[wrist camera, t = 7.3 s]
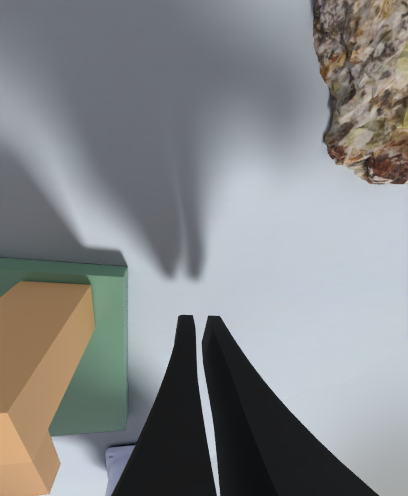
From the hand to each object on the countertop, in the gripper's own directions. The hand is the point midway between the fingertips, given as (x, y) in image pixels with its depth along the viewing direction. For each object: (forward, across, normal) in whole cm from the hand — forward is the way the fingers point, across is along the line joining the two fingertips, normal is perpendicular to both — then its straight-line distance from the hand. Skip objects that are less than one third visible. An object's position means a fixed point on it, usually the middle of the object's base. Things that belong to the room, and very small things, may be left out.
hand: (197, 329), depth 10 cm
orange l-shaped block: (+1, +7, +2) cm, 7 cm away
